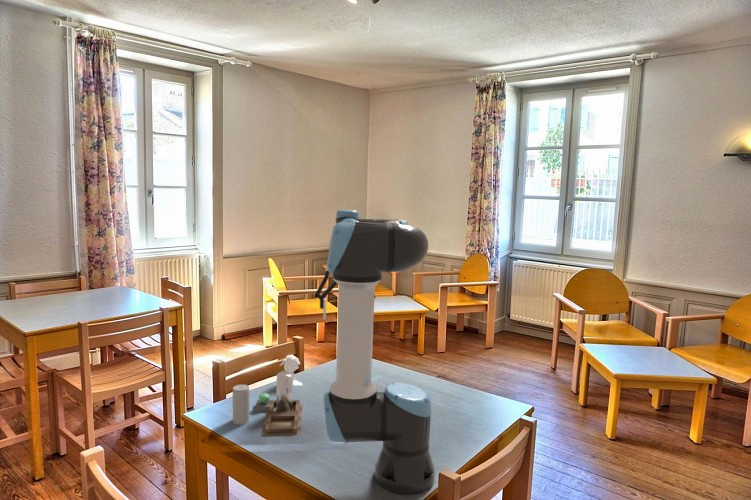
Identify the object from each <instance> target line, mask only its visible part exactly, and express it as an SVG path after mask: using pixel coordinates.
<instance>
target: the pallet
mask: <svg viewBox="0 0 751 500" xmlns="http://www.w3.org/2000/svg"><path fill="white" fill-rule="evenodd" d="M276 404H277V399H275V400H274V399H270V400H269V401H267V402H260V401H259V399H257V400H256V403H255V408H254V409H255V411H254V412H266V413H265V417H264V421H263V426H262V431H261V436H283V435H285V436H287V435H288V436H289V435H291V436H293V435H301V433H302V418H303V417H302V415H303V403H300V399H293V411H277V412H276Z"/></svg>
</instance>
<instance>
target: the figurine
mask: <svg viewBox="0 0 751 500" xmlns="http://www.w3.org/2000/svg"><path fill="white" fill-rule="evenodd" d="M282 365H283V366H284V367H283V368H284V370H281V372H284V371H287V372H291V373H293V386H303V383H302V382H301V381H299V380H297V379H296V375H295V373H294V372H295V371H296V370H298V369H299V368H300V367H299V366H300V365H301V362H300V359H299V357H296V356H295V355H287V356H286V357H285V358H283V360H282V362H281V364H280V365H279V367H281V366H282Z"/></svg>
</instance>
